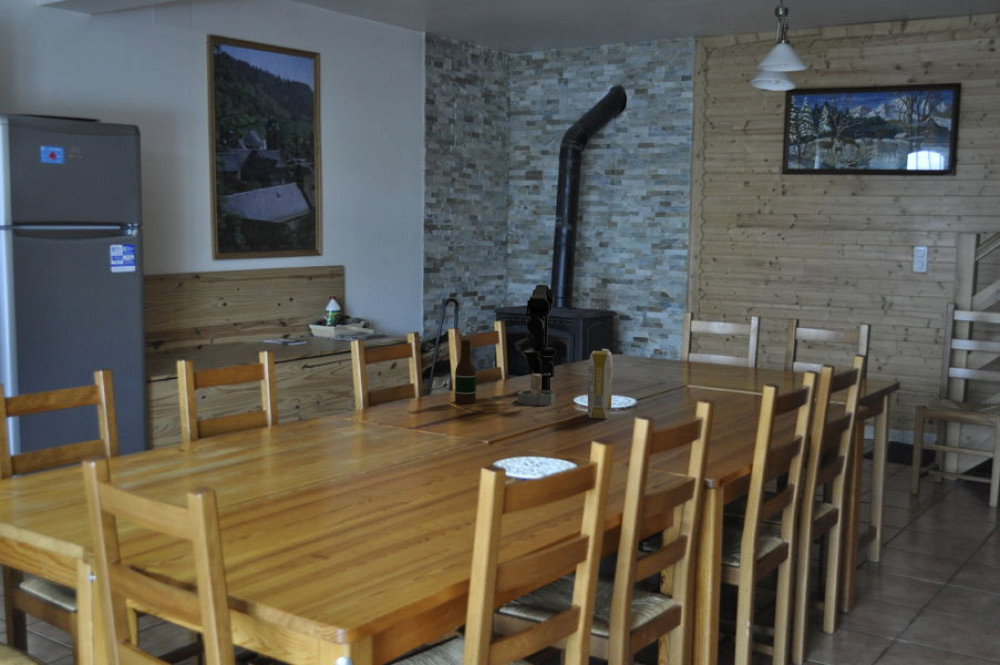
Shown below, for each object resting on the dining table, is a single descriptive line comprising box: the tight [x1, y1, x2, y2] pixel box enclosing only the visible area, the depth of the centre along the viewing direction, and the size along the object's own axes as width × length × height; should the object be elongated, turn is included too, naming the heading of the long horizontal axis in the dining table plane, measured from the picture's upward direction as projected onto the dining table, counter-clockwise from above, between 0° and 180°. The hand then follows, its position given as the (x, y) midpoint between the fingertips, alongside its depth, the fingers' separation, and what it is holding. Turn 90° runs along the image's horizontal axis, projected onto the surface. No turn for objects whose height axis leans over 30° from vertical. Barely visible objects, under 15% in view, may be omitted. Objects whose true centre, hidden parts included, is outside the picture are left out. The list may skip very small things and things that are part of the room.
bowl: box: [517, 389, 556, 408], centre depth 370 cm, size 13×13×4 cm
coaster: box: [482, 395, 514, 402], centre depth 376 cm, size 9×9×1 cm
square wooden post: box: [530, 373, 542, 396], centre depth 370 cm, size 3×3×10 cm
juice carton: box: [587, 348, 614, 420], centre depth 346 cm, size 9×8×24 cm
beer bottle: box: [454, 339, 477, 405], centre depth 366 cm, size 8×8×24 cm
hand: (536, 372), depth 369 cm, fingers open, 9 cm apart
